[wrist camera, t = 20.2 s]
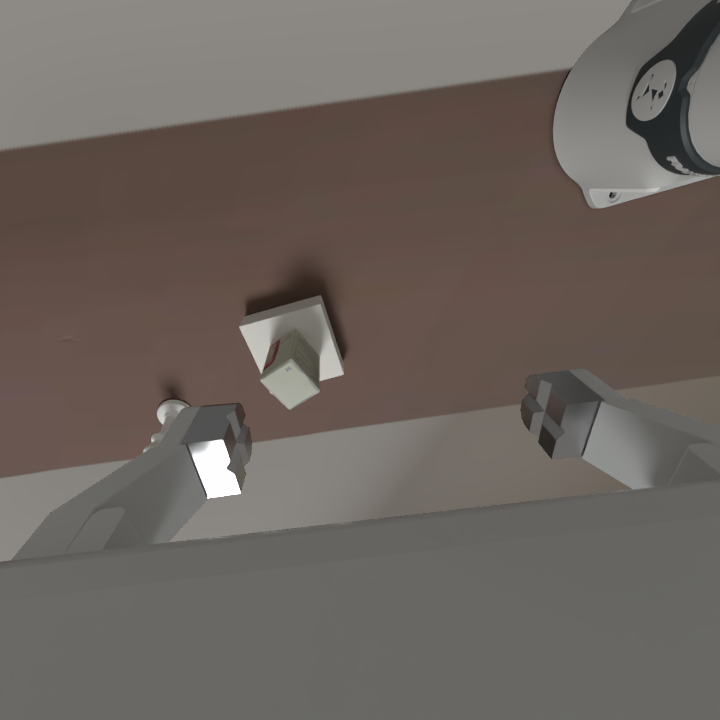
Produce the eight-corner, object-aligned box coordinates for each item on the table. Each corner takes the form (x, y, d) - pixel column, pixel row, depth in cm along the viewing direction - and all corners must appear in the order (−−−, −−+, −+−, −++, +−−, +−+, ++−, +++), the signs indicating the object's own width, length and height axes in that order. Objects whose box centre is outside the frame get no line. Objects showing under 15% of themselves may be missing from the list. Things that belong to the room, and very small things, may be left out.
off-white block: (321, 293, 44) (320, 304, 40) (342, 360, 48) (343, 374, 45) (246, 314, 44) (239, 326, 41) (275, 378, 49) (270, 394, 45)
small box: (268, 345, 42) (257, 380, 35) (296, 327, 41) (290, 358, 34) (294, 374, 44) (288, 411, 37) (321, 357, 43) (320, 392, 37)
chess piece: (182, 432, 51) (152, 485, 43) (151, 414, 49) (113, 466, 41) (201, 412, 50) (174, 463, 41) (171, 393, 48) (135, 442, 39)
